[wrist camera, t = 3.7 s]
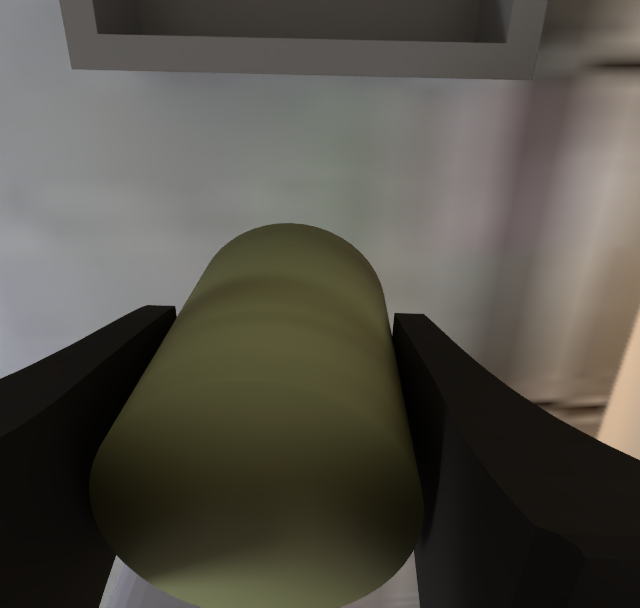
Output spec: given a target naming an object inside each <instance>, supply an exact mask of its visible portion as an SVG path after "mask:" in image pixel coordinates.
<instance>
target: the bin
mask: <svg viewBox="0 0 640 608" xmlns="http://www.w3.org/2000/svg"><path fill="white" fill-rule="evenodd" d="M59 1H60V7H61V12H62V18H63V23H64V28H65V34H66V39H67V45H68V50H69V56H70V61H71V66H72V69H86V70H128V71H170V72H211V73H253V74H295V75H337V76H379V77H420V78H462V79H504V80H533V75H534V70H535V65H536V60H537V55H538V50H539V44H540V39H541V34H542V29H543V24H544V19H545V14H546V8H547V3H548V0H59Z"/></svg>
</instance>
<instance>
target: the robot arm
mask: <svg viewBox="0 0 640 608" xmlns="http://www.w3.org/2000/svg"><path fill="white" fill-rule="evenodd" d="M176 318H177V316H176V308H175V306H156V305H146V306H144V307H141V308H139V309H137V310H135V311H133V312H131V313H129V314H127V315H125V316H123V317H121V318H119V319H117V320H116V321H114V322H112V323H110V324H108V325H107V326H105V327H103V328H101V329H99V330H97V331H96V332H94V333H92V334H90V335H88V336H87V337H85V338H83V339H81V340H79V341H77V342H76V343H74V344H72V345H70V346H68V347H66V348H64V349H62V350H60V351H58V352H56V353H54V354H52V355H50V356H48V357H46V358H44V359H42V360H40V361H38V362H36V363H34V364H32V365H30V366H28V367H26V368H24V369H21V370H19V371H17V372H15V373H13V374H10V375H8V376H6V377H3V378H1V379H0V608H99V605H100V602H101V599H102V596H103V593H104V590H105V586H106V583H107V580H108V578H109V575H110V572H111V569H112V566H113V563H114V560H115V557H116V554H115V553H114V551H113V550H112V549H111V547H110V546H109V545H108V543H107V542H106V541H105V539H104V537H103V535H102V533H101V532H100V530H99V528H98V526H97V524H96V521H95V518H94V515H93V512H92V509H91V503H90V497H89V478H90V473H91V469H92V464H93V461H94V459H95V456H96V454H97V452H98V449H99V447H100V446H101V444H102V442H103V440H104V439H105V437H106V435H107V434H108V432H109V430H110V429H111V427H112V425H113V424H114V422H115V420H116V419H117V417H118V415H119V414H120V412H121V410H122V409H123V407H124V405H125V404H126V402H127V400H128V399H129V397H130V395H131V394H132V392H133V390H134V389H135V387H136V385H137V384H138V382H139V380H140V378H141V377H142V375H143V373H144V372H145V370H146V368H147V367H148V365H149V363H150V362H151V360H152V358H153V357H154V355H155V353H156V352H157V350H158V348H159V347H160V345H161V343H162V342H163V340H164V338H165V337H166V335H167V333H168V332H169V330H170V328H171V327H172V325H173V323H174V322H175V320H176ZM392 339H393V344H394V349H395V355H396V360H397V365H398V370H399V375H400V380H401V386H402V391H403V396H404V401H405V406H406V411H407V417H408V422H409V427H410V432H411V437H412V443H413V448H414V453H415V458H416V463H417V468H418V474H419V479H420V484H421V489H422V496H423V504H424V513H423V524H422V528H421V532H420V536H419V539H418V541H417V543H416V546H415V548H414V555H415V564H416V573H417V582H418V591H419V600H420V608H640V460H638V459H636V458H634V457H632V456H630V455H627V454H625V453H623V452H621V451H619V450H617V449H615V448H613V447H610V446H608V445H606V444H604V443H602V442H601V441H599V440H597V439H595V438H593V437H591V436H589V435H587V434H585V433H583V432H581V431H580V430H578V429H576V428H574V427H572V426H570V425H568V424H567V423H565V422H563V421H561V420H560V419H558V418H556V417H554V416H553V415H551V414H549V413H548V412H546V411H545V410H543V409H542V408H540V407H538V406H537V405H535V404H534V403H532V402H531V401H529V400H527V399H526V398H524V397H523V396H521V395H520V394H518V393H517V392H515V391H514V390H513V389H511V388H510V387H508V386H507V385H506V384H504V383H503V382H502V381H500V380H499V379H498V378H497V377H495V376H494V375H493V374H491V373H490V372H489V371H487V370H486V369H485V368H484V367H482V366H481V365H480V364H479V363H478V362H476V361H475V360H474V359H473V358H472V357H470V356H469V355H468V354H467V353H466V352H465V351H464V350H462V349H461V348H460V347H459V346H458V345H457V344H456V343H455V342H454V341H452V340H451V339H450V338H449V337H448V336H447V335H446V334H445V333H444V332H443V331H442V330H441V329H440V328H439V327H437V326H436V325H435V324H434V323H433V322H432V321H431V320H430V319H429V318H428V317H427V316H425V315H424V314H406V313H395V314H394V324H393V334H392ZM106 608H202V607H199V606H196V605H193V604H190V603H187V602H185V601H183V600H180V599H178V598H176V597H174V596H171V595H169V594H167V593H166V592H164V591H162V590H160V589H158V588H156V587H155V586H153V585H152V584H150V583H149V582H147V581H146V580H144V579H143V578H141V577H140V576H139V575H137V574H136V573H135V572H134V571H133V570H131V569H130V568H129V567H128V566H127V565H126V564H125V563H124V566H123V568H122V570H121V573H120V575H119V578H118V580H117V582H116V585H115V587H114V590H113V592H112V595H111V597H110V599H109V602H108V604H107V607H106Z"/></svg>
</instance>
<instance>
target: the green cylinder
mask: <svg viewBox="0 0 640 608" xmlns="http://www.w3.org/2000/svg"><path fill="white" fill-rule="evenodd" d="M89 497H90V503H91V509H92V512H93V515H94V518H95V521H96V524H97V526H98V528H99V530H100V532H101V533H102V535H103V537H104V539H105V541H106V542H107V543H108V545H109V546H110V547H111V549H112V550H113V551H114V553H115V554H116V555H117V556H118V557H119V558H120V559H121V560H122V561H123V562H124V563H125V564H126V565H127V566H128V567H129V568H130V569H131V570H133V571H134V572H135V573H136V574H137V575H139V576H140V577H141V578H143V579H144V580H146V581H147V582H149V583H150V584H152V585H153V586H155V587H156V588H158V589H160V590H162V591H164V592H166V593H167V594H169V595H171V596H174V597H176V598H178V599H180V600H183V601H185V602H187V603H190V604H193V605H196V606H199V607H202V608H338V607H341V606H344V605H347V604H349V603H352V602H354V601H356V600H358V599H360V598H362V597H364V596H366V595H368V594H370V593H371V592H373V591H374V590H376V589H377V588H379V587H381V586H382V585H383V584H384V583H386V582H387V581H388V580H389V579H390V578H392V577H393V576H394V575H395V574H396V573H397V572H398V570H399V569H400V568H401V567H402V566H403V565H404V564H405V562H406V561H407V559H408V558H409V556H410V555H411V553H412V552H413V550H414V548H415V546H416V543H417V541H418V539H419V536H420V532H421V528H422V524H423V513H424V504H423V496H422V489H421V484H420V479H419V474H418V468H417V463H416V458H415V453H414V448H413V443H412V437H411V432H410V427H409V422H408V417H407V411H406V406H405V401H404V396H403V391H402V386H401V380H400V375H399V370H398V365H397V360H396V355H395V349H394V344H393V339H392V334H391V329H390V324H389V318H388V313H387V308H386V303H385V298H384V293H383V290H382V286H381V283H380V281H379V279H378V276H377V274H376V272H375V271H374V269H373V268H372V266H371V264H370V263H369V262H368V261H367V259H366V258H365V257H364V256H363V255H362V254H361V253H360V252H359V251H358V250H357V249H356V248H355V247H354V246H353V245H351V244H350V243H348V242H347V241H345V240H344V239H342V238H341V237H339V236H337V235H335V234H333V233H331V232H329V231H326V230H323V229H320V228H318V227H313V226H309V225H304V224H294V223H282V224H272V225H266V226H262V227H259V228H255V229H252V230H250V231H248V232H245V233H243V234H241V235H239V236H238V237H236V238H234V239H233V240H231V241H230V242H229V243H227V244H226V245H225V246H224V247H223V248H222V249H220V251H219V252H218V253H217V254H216V255H215V256H214V257H213V259H212V260H211V262H210V263H209V265H208V266H207V268H206V270H205V271H204V273H203V275H202V276H201V278H200V280H199V281H198V283H197V285H196V286H195V288H194V290H193V291H192V293H191V295H190V296H189V298H188V300H187V301H186V303H185V305H184V306H183V308H182V310H181V311H180V313H179V315H178V316H177V318H176V320H175V322H174V323H173V325H172V327H171V328H170V330H169V332H168V333H167V335H166V337H165V338H164V340H163V342H162V343H161V345H160V347H159V348H158V350H157V352H156V353H155V355H154V357H153V358H152V360H151V362H150V363H149V365H148V367H147V368H146V370H145V372H144V373H143V375H142V377H141V378H140V380H139V382H138V384H137V385H136V387H135V389H134V390H133V392H132V394H131V395H130V397H129V399H128V400H127V402H126V404H125V405H124V407H123V409H122V410H121V412H120V414H119V415H118V417H117V419H116V420H115V422H114V424H113V425H112V427H111V429H110V430H109V432H108V434H107V435H106V437H105V439H104V440H103V442H102V444H101V446H100V447H99V449H98V452H97V454H96V456H95V459H94V461H93V464H92V469H91V473H90V478H89Z"/></svg>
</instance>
